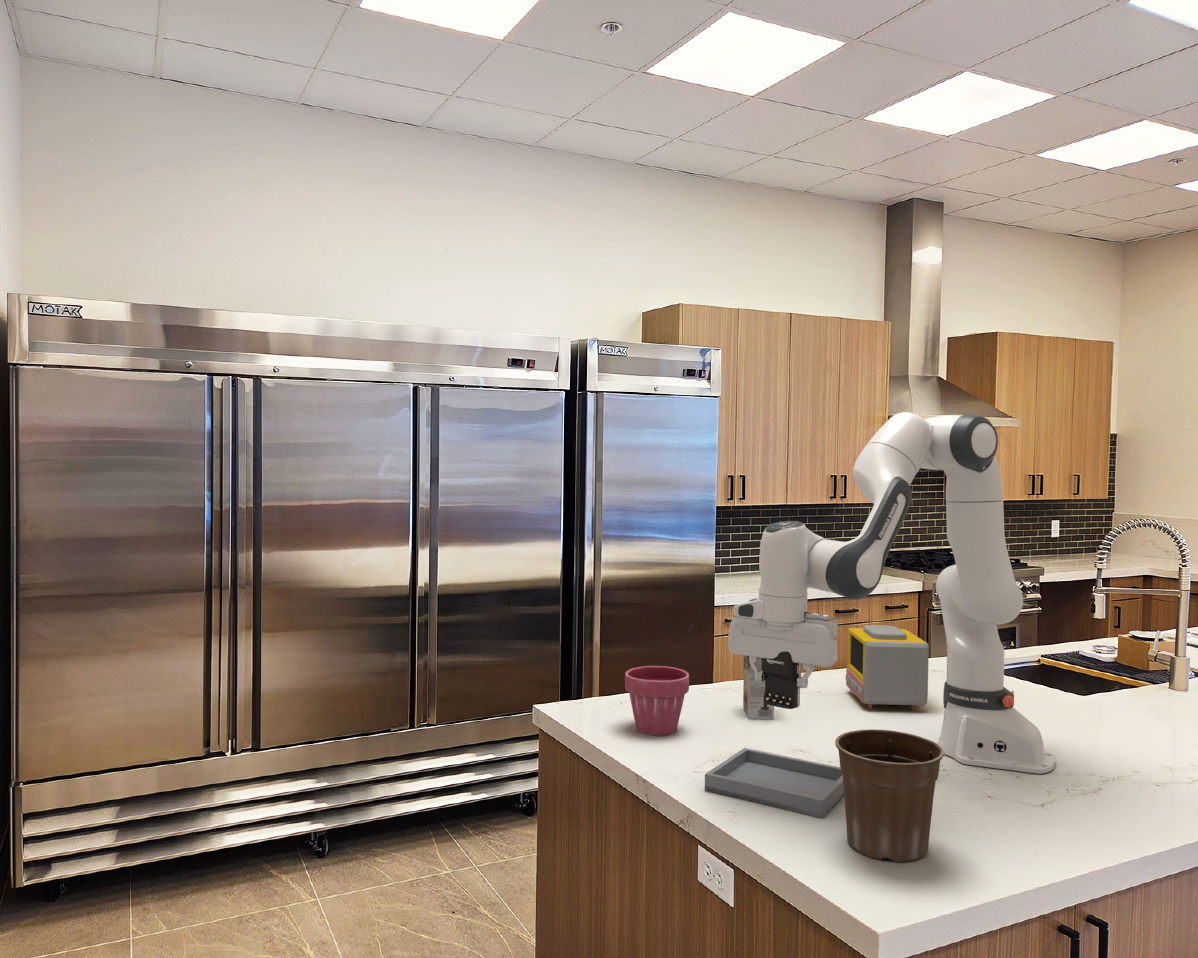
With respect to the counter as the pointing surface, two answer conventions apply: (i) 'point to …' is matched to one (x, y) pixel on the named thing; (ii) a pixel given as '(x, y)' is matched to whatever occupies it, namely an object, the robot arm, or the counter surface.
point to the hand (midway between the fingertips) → (780, 683)
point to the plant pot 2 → (888, 792)
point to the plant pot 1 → (656, 697)
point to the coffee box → (754, 694)
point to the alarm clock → (887, 666)
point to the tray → (778, 781)
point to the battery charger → (781, 681)
